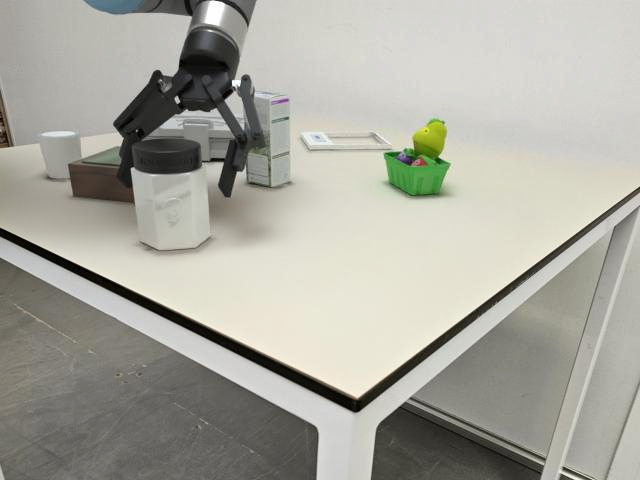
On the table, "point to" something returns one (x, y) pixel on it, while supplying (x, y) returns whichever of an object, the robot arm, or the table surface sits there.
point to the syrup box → (270, 141)
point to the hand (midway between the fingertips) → (172, 187)
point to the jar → (170, 193)
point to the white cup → (59, 151)
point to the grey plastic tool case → (199, 132)
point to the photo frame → (323, 142)
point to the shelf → (99, 177)
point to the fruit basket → (420, 161)
